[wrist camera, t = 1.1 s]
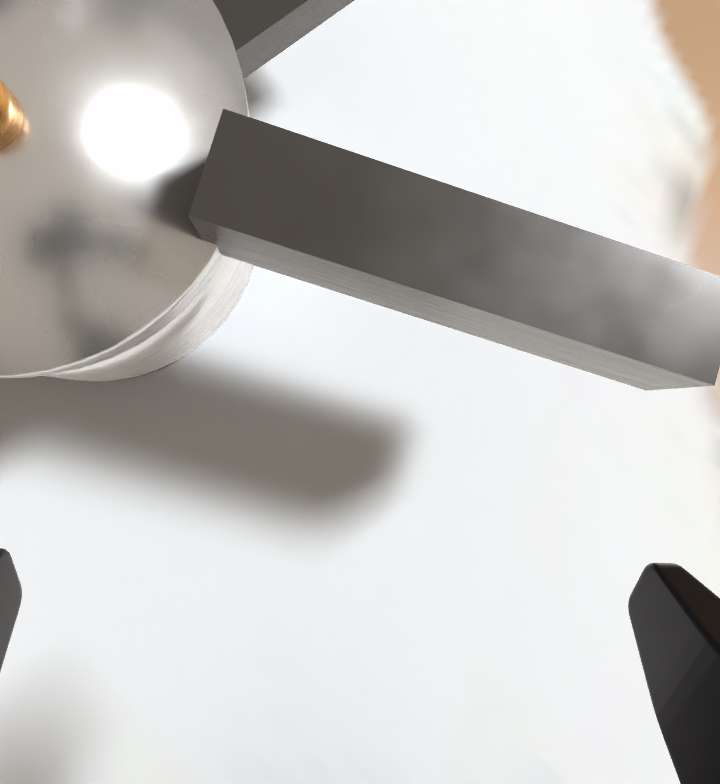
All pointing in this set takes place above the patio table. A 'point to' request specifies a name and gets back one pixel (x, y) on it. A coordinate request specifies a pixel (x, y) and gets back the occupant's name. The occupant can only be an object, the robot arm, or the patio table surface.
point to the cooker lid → (276, 213)
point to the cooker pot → (227, 282)
